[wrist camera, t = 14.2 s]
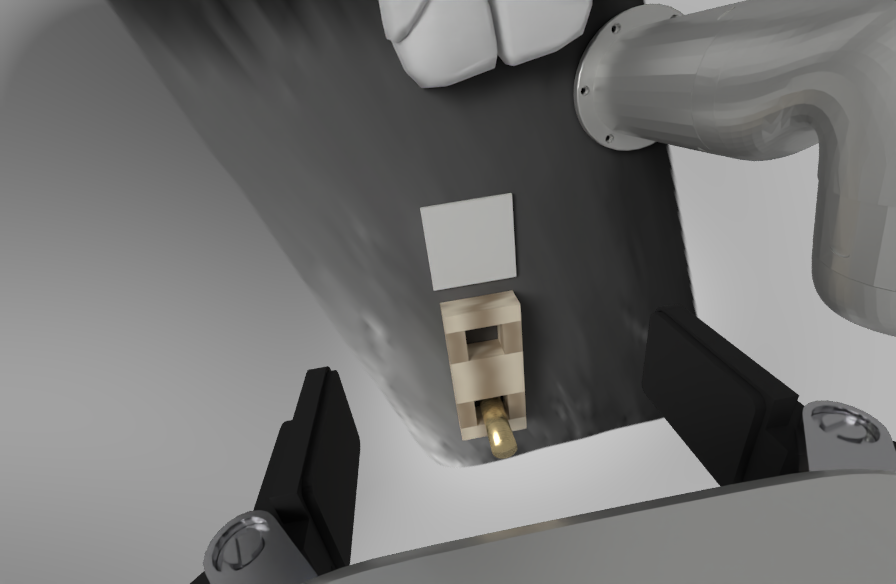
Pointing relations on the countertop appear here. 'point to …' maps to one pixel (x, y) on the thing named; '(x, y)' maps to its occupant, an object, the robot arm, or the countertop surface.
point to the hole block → (486, 359)
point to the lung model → (477, 34)
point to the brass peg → (498, 427)
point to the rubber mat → (470, 241)
